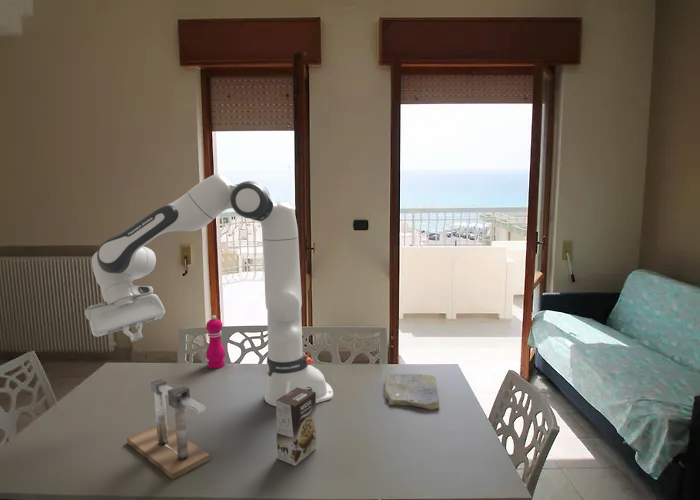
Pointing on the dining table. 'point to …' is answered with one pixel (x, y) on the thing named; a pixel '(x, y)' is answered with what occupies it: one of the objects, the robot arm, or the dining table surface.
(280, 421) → the coffee box
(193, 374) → the dining table surface
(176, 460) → the wood and metal stand
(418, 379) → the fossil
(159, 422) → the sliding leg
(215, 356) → the pepper mill
